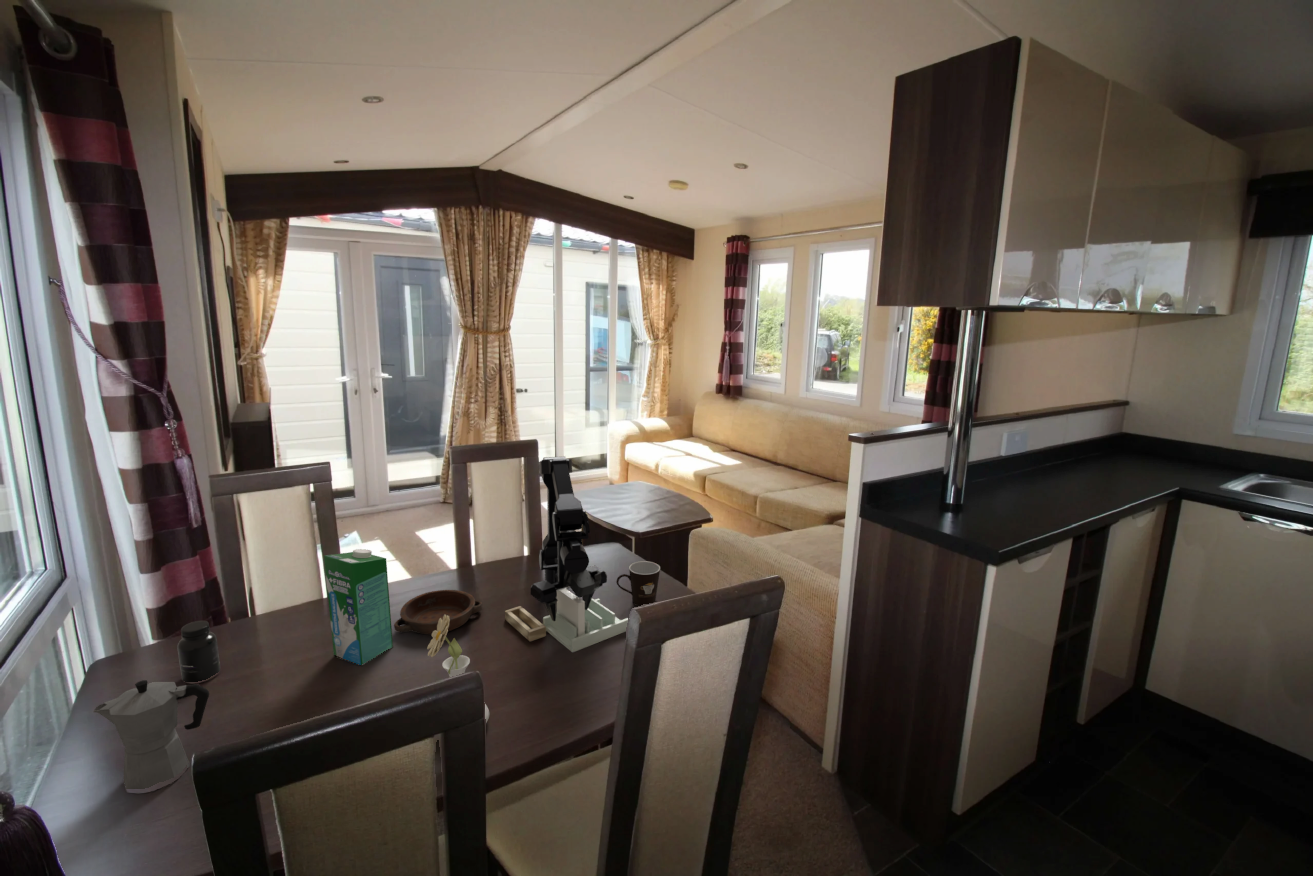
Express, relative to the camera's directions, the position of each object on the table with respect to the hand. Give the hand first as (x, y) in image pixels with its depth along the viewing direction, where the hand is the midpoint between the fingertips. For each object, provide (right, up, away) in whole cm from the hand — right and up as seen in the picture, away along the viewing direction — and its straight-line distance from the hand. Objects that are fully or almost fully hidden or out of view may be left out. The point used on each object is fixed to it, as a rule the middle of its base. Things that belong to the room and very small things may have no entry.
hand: (570, 614), depth 151 cm
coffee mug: (+16, -2, +20) cm, 26 cm away
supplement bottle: (-77, -8, -19) cm, 80 cm away
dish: (-35, -4, +6) cm, 35 cm away
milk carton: (-47, -6, -8) cm, 48 cm away
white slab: (0, -4, +1) cm, 5 cm away
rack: (+4, -5, +4) cm, 7 cm away
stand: (-12, -4, +4) cm, 13 cm away
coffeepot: (-64, -14, -45) cm, 80 cm away
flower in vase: (-17, -13, -33) cm, 39 cm away
